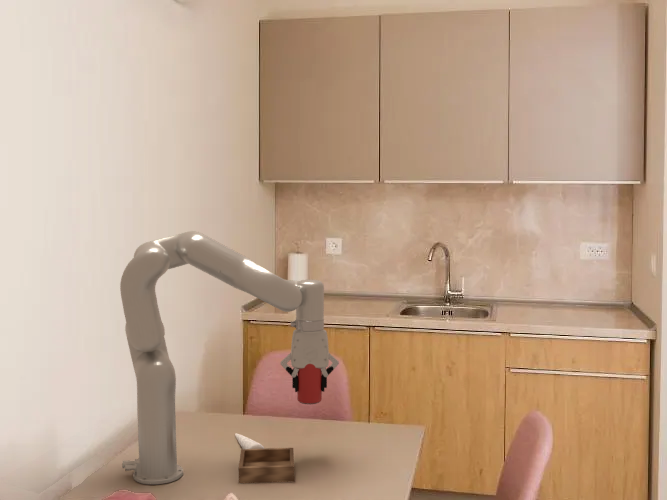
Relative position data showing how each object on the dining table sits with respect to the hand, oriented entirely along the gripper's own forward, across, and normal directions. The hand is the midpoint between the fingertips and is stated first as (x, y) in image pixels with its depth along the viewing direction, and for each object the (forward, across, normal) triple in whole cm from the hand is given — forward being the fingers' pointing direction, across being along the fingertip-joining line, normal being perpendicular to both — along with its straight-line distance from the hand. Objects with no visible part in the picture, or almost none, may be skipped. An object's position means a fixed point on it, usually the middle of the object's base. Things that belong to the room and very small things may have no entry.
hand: (309, 390), depth 216 cm
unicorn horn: (+20, -18, +10) cm, 28 cm away
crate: (+19, -11, -10) cm, 24 cm away
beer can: (+3, 0, 0) cm, 3 cm away
